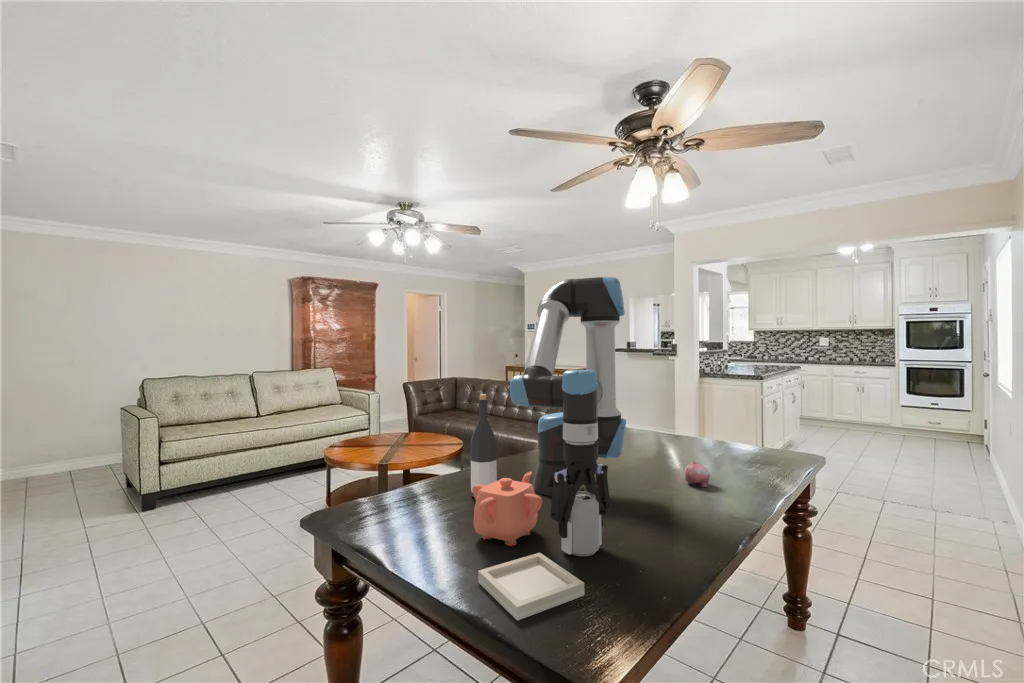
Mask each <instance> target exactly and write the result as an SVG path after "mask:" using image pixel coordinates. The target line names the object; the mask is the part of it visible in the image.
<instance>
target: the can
mask: <svg viewBox="0 0 1024 683" xmlns="http://www.w3.org/2000/svg"><path fill="white" fill-rule="evenodd" d="M589 497H590V498H589ZM595 498H596V496H595V495H594V494H591V493H589V492H587V490H581V491H577V493H576V496H575V500H574V503H573V506H572V511H571V514H570V518H569V522H571V523H572V554H571V555H574V556H576V557H589V556H590V557H591V556H593V555H594V554H596V552H598V551H599V550H600V545H599V503H598V501H597V500H596V499H595Z"/></svg>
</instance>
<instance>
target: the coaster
mask: <svg viewBox="0 0 1024 683" xmlns="http://www.w3.org/2000/svg"><path fill="white" fill-rule="evenodd" d="M477 577H478V578H477V581H478V582H477V583H478V584H479V585H480V586H481V587H482V588H483V589H484V590H486V592H488V593H489V595H491V597H492V598H493V599H495V600H496V601H497V602H498V604H499V605H500V606H502V607H503V608H504V610H506V611H507V612H508V613H509V615H511V616H512V617H513V618H514V619H515V620H516V621H520V620H523V619H525V618H528V617H531V616H533V615H536V614H539V613H542V612H545V611H547V610H550V609H553V608H554V607H558V606H560V605H562V604H565V603H569V602H570V601H571V602H572V601H573V600H575V599H579V598H581V597H584V596H585V593H586V592H585V582H584V581H583V580H580V579H579V578H578V577H576V576H575V575H573V574H572V573H570V572H569V571H567V570H566V569H565V568H563V567H561V565H559V564H557V563H556V562H555V561H553V560H551V559H550V558H549V557H547V556H546V555H544V554H543V553H541V552H537V553H533V554H530V555H527V556H522V557H519V558H517V559H512V560H510V561H506V562H502V563H500V564H495V565H492V566H490V567H485V568H483V569H482V568H481V569H480V570H477Z"/></svg>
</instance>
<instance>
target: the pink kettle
mask: <svg viewBox="0 0 1024 683" xmlns="http://www.w3.org/2000/svg"><path fill="white" fill-rule="evenodd" d="M532 474H533V471H528V472H526V473H525V474H524V475H523V478H522V480H521V481H519V480H513V479H512V478H510V477H502V478H500V479H499V480H498V479H497V481H495V482H493V483H490V484H488V485H480V484H477V485H474V486H473V488H472V491H473V494H474V497H475V498H474V499H475V504H474V510H473V512H474V513H473V527H474V530H475V533H476V534H478V535H481V539H482V538H483V539H482V540H485V539H489V540H491V538H492V539H495V540H501V541H503V542H504V544H506V545H505V546H507V545H508V547H513V545H514V546H516V545H517V540H518V539H520V538H521V537H523V536H525V537H526V536H530V535H531V533H532V532H531V531H532V529H533V528H535V526H536V525H537V521H538V518H539V517H538V516H539V514H538V513H539V511H540V509H541V508H542V505H543V498H542V497H541V496H540V495H537V494H536V492H535V491H534V489H533V483H530V478H531V477H532Z"/></svg>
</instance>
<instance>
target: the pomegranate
mask: <svg viewBox="0 0 1024 683" xmlns="http://www.w3.org/2000/svg"><path fill="white" fill-rule="evenodd" d="M710 479H711V473H710V471H709V469H707V467H705V465H702V464H700V463H697V462H695V461H693V462H691V463H689V464H687V466H686V467H685V468H684V480H685V482H686V483H687V484H688V485H692V486H695V487H699V488H701V487H702V488H710V485H708V483H709V481H710Z"/></svg>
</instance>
